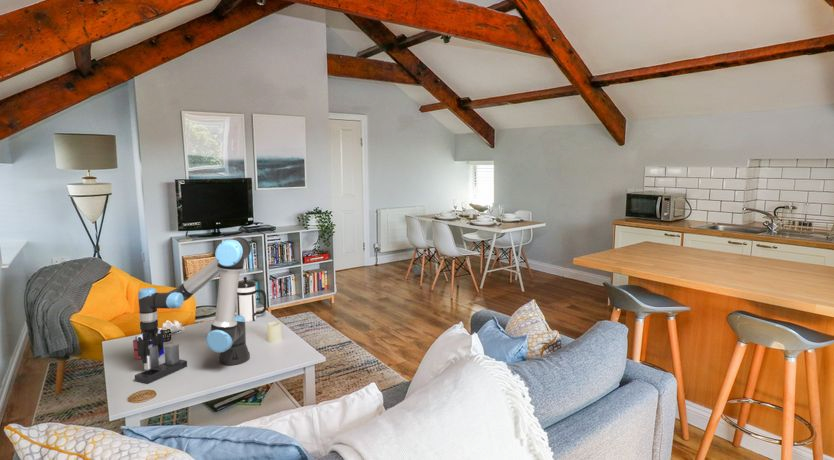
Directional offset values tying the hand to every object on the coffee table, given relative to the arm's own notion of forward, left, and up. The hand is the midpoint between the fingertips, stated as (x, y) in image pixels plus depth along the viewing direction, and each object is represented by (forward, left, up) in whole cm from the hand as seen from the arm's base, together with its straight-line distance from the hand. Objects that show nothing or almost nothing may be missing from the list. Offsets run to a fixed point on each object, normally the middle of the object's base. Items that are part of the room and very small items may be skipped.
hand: (151, 367), depth 230 cm
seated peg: (-8, -5, -2) cm, 10 cm away
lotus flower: (+38, -44, -2) cm, 58 cm away
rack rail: (-8, +1, -2) cm, 8 cm away
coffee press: (+11, -80, -2) cm, 81 cm away
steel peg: (0, 0, -2) cm, 2 cm away
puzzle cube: (+18, -13, -2) cm, 22 cm away
